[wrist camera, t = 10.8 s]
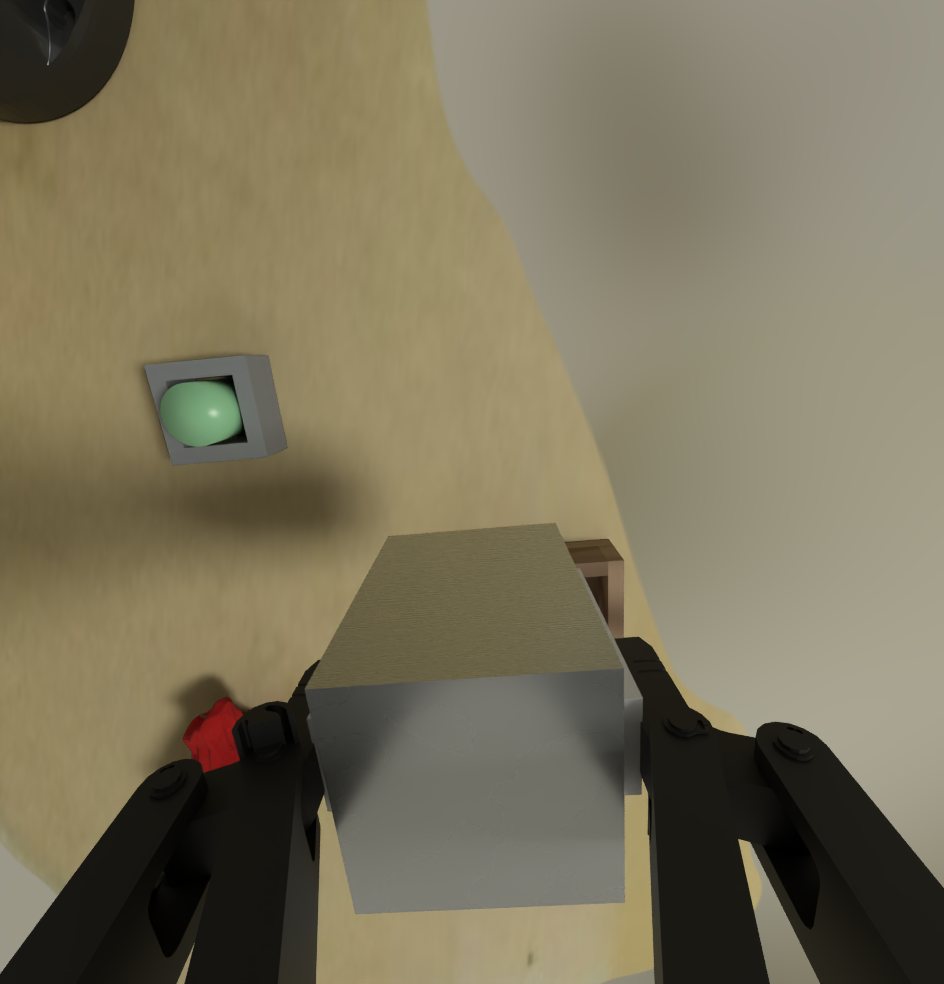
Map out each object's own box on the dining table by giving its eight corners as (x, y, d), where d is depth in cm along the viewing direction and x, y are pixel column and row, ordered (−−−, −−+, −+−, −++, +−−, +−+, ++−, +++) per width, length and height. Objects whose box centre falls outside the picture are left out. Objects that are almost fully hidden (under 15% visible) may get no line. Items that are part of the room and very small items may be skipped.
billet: (388, 536, 16) (304, 689, 9) (555, 523, 16) (624, 668, 8) (409, 677, 18) (355, 914, 10) (562, 667, 18) (624, 902, 10)
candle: (249, 836, 40) (176, 689, 38) (365, 805, 39) (296, 652, 37) (177, 956, 31) (77, 773, 29) (324, 922, 30) (231, 728, 28)
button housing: (176, 364, 29) (143, 365, 26) (268, 355, 29) (244, 355, 26) (201, 455, 31) (172, 465, 28) (287, 447, 31) (267, 457, 28)
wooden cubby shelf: (427, 553, 33) (421, 575, 29) (608, 539, 32) (623, 560, 29) (456, 778, 39) (454, 819, 35) (609, 769, 38) (622, 809, 35)
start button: (190, 382, 28) (152, 385, 25) (246, 377, 28) (215, 379, 25) (205, 438, 29) (170, 449, 26) (259, 434, 29) (231, 443, 26)
